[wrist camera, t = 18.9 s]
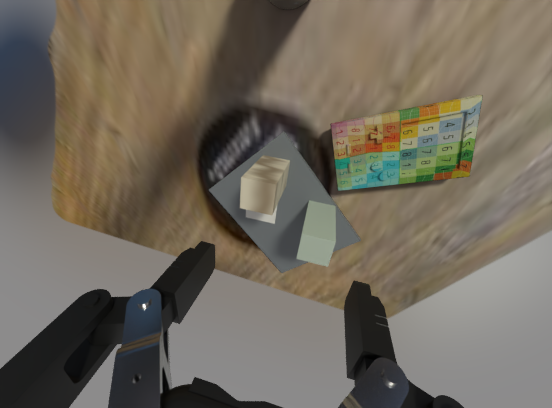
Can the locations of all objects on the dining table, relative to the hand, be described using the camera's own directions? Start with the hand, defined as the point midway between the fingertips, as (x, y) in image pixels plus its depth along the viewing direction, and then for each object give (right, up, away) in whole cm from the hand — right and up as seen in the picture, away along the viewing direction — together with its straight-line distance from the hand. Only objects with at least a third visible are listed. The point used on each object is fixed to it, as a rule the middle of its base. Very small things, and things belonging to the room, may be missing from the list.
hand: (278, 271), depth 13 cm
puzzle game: (+20, +14, +26) cm, 36 cm away
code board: (+1, +2, +37) cm, 37 cm away
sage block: (+9, +2, +35) cm, 36 cm away
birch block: (0, +11, +32) cm, 34 cm away
